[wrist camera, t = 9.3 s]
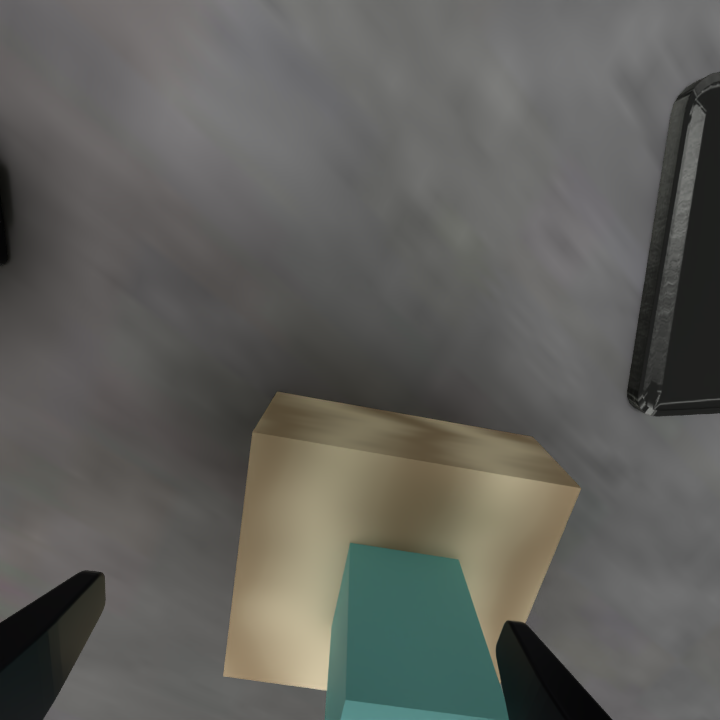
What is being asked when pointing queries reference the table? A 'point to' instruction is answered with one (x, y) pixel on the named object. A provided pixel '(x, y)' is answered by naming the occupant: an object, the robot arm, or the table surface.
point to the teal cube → (408, 642)
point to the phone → (683, 268)
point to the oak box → (381, 523)
